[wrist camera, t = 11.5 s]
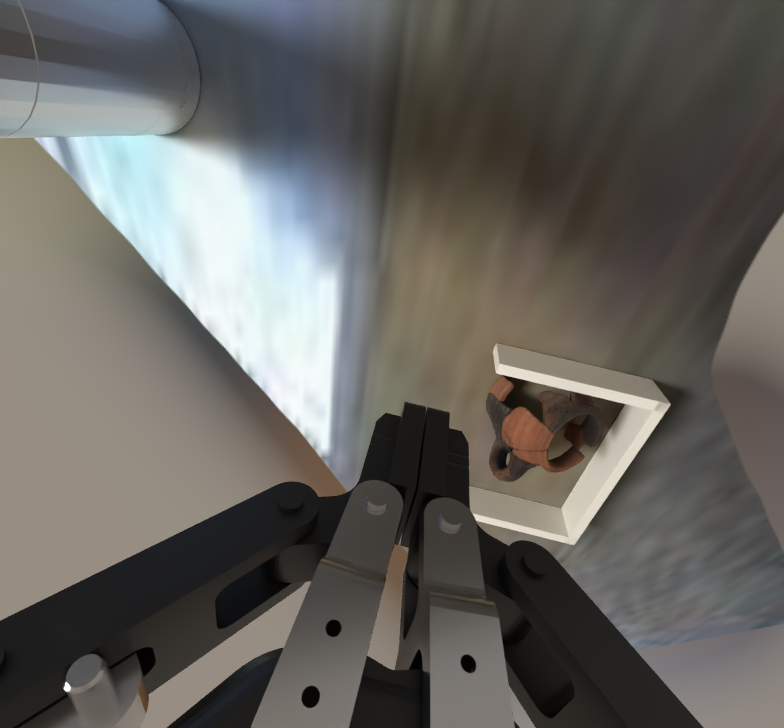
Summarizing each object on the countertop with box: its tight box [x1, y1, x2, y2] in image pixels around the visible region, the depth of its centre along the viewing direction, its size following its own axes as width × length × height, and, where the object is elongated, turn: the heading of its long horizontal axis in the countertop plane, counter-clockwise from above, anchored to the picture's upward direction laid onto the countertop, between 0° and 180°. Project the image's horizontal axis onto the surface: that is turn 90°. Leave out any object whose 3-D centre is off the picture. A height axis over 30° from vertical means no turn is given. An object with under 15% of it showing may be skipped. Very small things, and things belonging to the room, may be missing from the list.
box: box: [469, 343, 671, 545], centre depth 42 cm, size 15×20×4 cm
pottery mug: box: [486, 376, 604, 482], centre depth 40 cm, size 12×10×8 cm
